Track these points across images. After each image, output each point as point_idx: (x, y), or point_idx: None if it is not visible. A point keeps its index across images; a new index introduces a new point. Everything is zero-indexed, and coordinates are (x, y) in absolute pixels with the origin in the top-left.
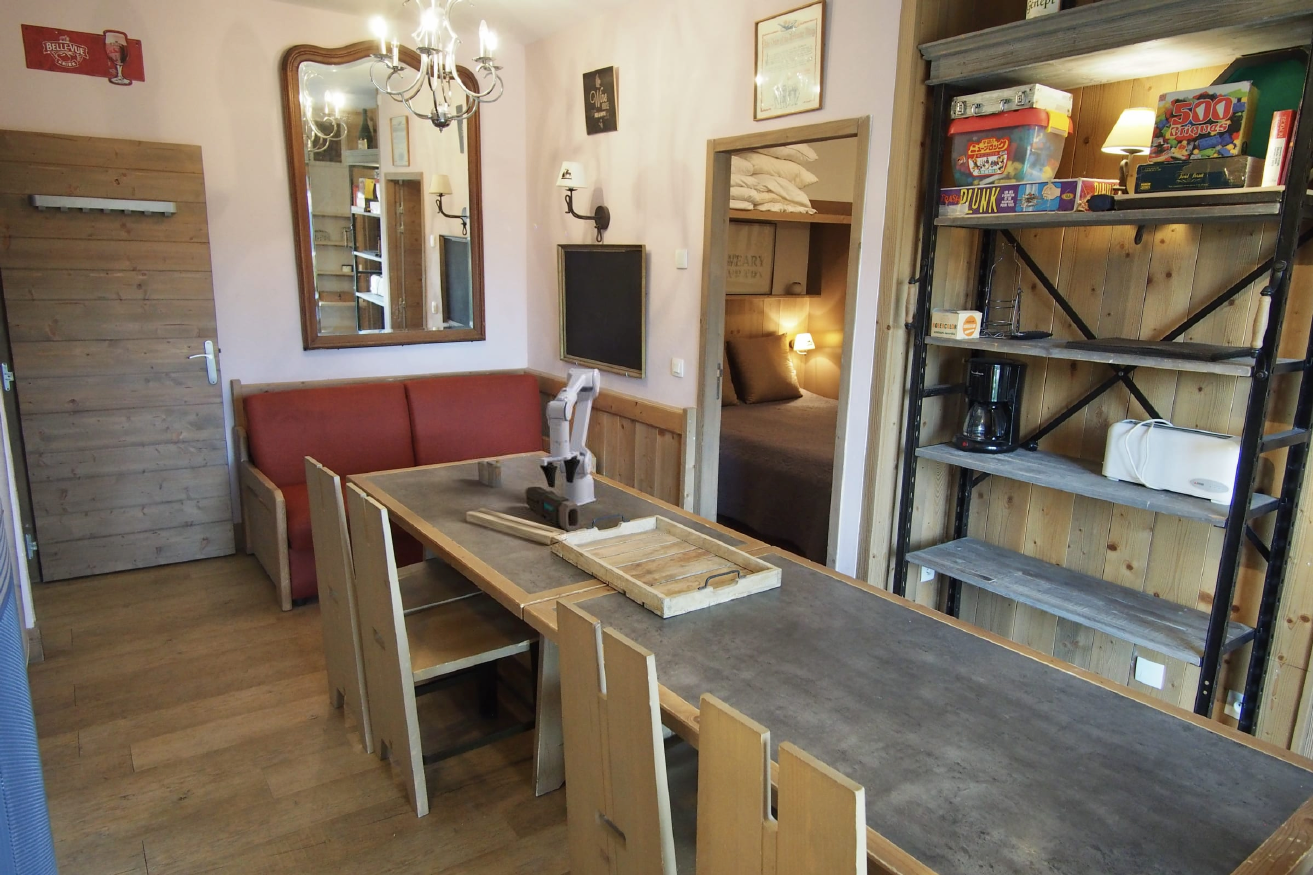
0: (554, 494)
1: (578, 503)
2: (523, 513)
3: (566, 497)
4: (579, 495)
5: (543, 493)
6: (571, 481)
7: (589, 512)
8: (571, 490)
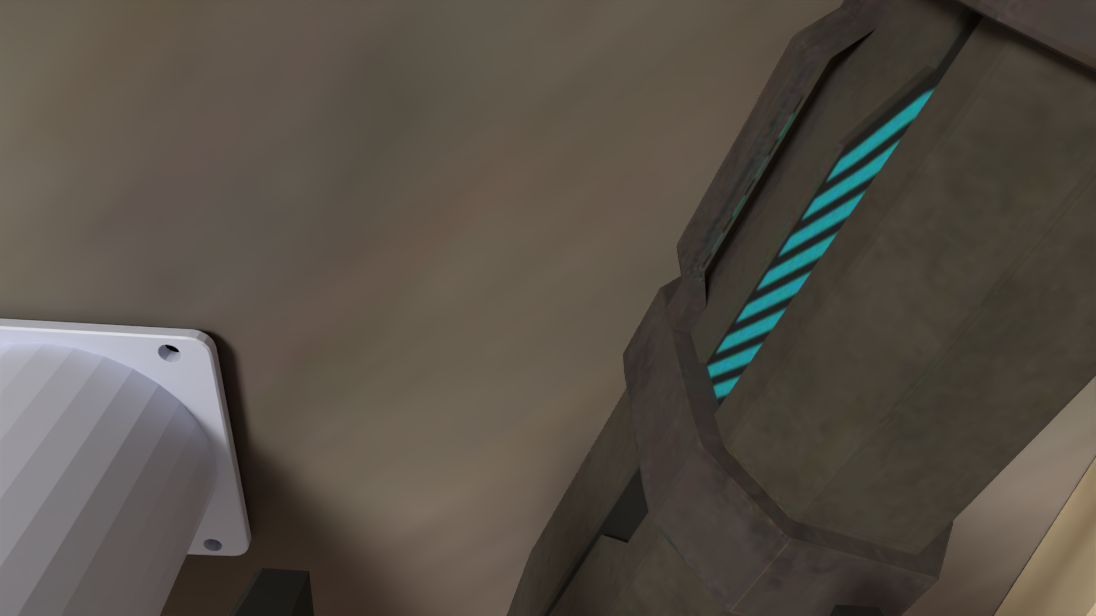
0: (853, 467)
1: (123, 364)
2: None
3: (194, 522)
4: (54, 430)
5: (908, 602)
6: (299, 602)
7: (225, 33)
8: (121, 552)
